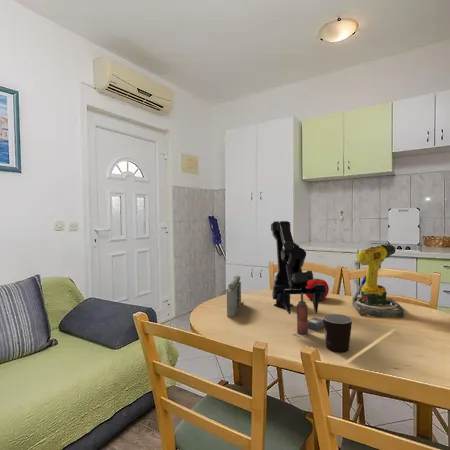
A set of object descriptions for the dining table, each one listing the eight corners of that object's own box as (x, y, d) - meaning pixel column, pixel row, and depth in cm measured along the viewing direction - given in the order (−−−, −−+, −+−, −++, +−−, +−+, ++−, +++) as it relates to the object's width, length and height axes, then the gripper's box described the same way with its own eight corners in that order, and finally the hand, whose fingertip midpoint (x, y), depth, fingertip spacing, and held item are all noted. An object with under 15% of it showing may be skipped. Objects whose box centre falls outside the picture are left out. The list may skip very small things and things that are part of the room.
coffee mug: (349, 359, 92) (349, 325, 91) (319, 352, 96) (319, 320, 96) (356, 344, 102) (356, 313, 101) (329, 339, 106) (328, 310, 106)
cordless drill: (409, 318, 124) (409, 248, 123) (358, 316, 128) (357, 248, 127) (394, 304, 142) (394, 243, 141) (350, 303, 146) (349, 244, 145)
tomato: (314, 303, 147) (313, 281, 146) (299, 297, 158) (299, 277, 157) (334, 300, 151) (334, 279, 151) (319, 294, 162) (319, 275, 161)
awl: (298, 330, 113) (298, 290, 112) (308, 332, 111) (308, 291, 110) (296, 334, 109) (295, 293, 109) (306, 335, 108) (305, 294, 107)
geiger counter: (236, 284, 130) (244, 272, 154) (221, 284, 131) (231, 272, 156) (236, 317, 130) (244, 300, 155) (221, 316, 132) (232, 300, 156)
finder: (314, 323, 119) (314, 317, 119) (324, 326, 116) (324, 319, 116) (305, 327, 115) (305, 321, 115) (316, 331, 112) (315, 324, 112)
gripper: (272, 263, 113) (278, 302, 102) (324, 262, 113) (335, 301, 103) (270, 280, 121) (275, 318, 111) (318, 279, 121) (328, 316, 111)
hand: (303, 313), depth 108 cm, fingers open, 9 cm apart
